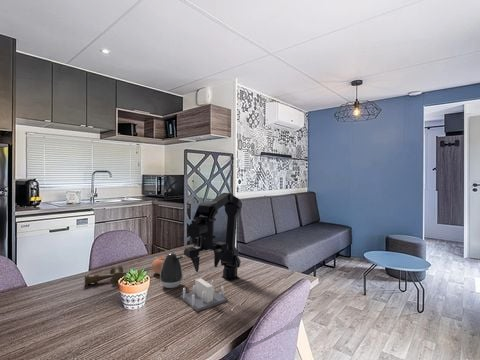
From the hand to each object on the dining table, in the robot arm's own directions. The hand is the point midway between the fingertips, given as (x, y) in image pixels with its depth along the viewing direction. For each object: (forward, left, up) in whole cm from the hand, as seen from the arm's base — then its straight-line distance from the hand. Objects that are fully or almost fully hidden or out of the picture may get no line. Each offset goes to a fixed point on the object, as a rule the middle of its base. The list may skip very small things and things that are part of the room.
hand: (206, 269), depth 112 cm
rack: (+2, +1, -12) cm, 12 cm away
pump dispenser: (+7, -19, -12) cm, 23 cm away
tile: (+2, +2, -11) cm, 11 cm away
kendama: (+29, -41, -12) cm, 51 cm away
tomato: (+4, -37, -12) cm, 39 cm away
